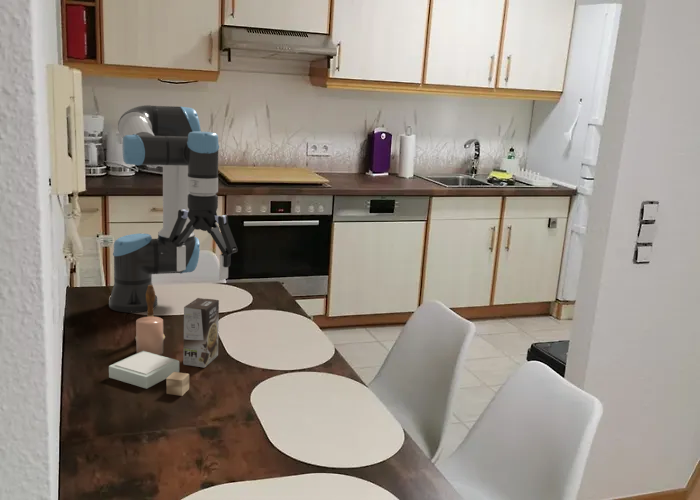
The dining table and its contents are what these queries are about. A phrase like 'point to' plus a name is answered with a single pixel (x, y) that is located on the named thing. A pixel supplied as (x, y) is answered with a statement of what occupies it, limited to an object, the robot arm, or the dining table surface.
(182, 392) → the beech block
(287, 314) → the dining table surface
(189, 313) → the coffee box
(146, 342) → the peach upright cylinder
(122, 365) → the podium
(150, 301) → the hand bell
